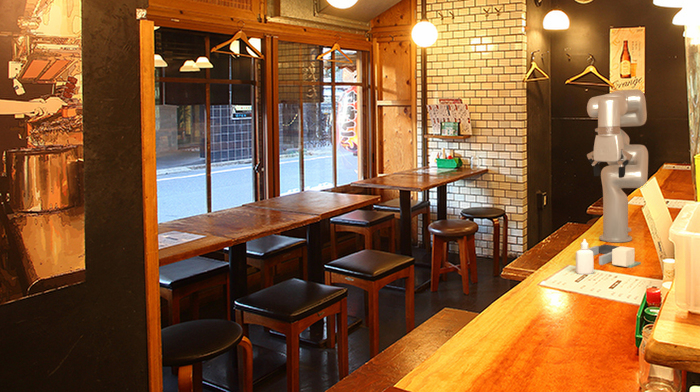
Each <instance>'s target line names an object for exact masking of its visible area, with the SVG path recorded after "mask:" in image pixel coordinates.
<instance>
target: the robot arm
mask: <svg viewBox="0 0 700 392" xmlns="http://www.w3.org/2000/svg"><path fill="white" fill-rule="evenodd" d="M586 111H587V114H588V116H589V117H590V118H594V119H595V118H597V128H594V131H595V132H596V133H597V134H595V139H594V145H593V150H592V151H591V152H589V153H587V154H586V157H587V159H588V162H589V163H590V164H591V166H592V169H593V171H592V172H593V177H599V176H600V179H601V185H602V203H603V204H602V206H603V207H602V208H603V209H602V212H603V213H602V214H603V215H602V216H603V217H602V218H603V223H602V224H603V226H602V227H603V230H602V232H603V233H602V234H600V235H599V240H600V241H602V242H607V243H608V242H609V243H628V242H631V241H632V239H633V237H632V236H631V235H629V233H630V232H632V228H631V227H629V198H628V195H627V194H626V193H625V192H624V190H623V189H639V188H640V187H641V186H643V185H644V184H645V183H646V182H648V175H649V173H648V172H649V151H648V149H647V147H646V146H645V145H644V144H630V141H631V139H630V137H629V135H628V134H627V133H626V132H625V131H624V130H623V129H621V128H622V127H641V126H644V125H645V124H646V122H647V117H648V116H647V115H648V114H647V113H648V111H647V102H646V96H645V94H644V92H643V91H642V90H641V89H638V88H637V89H636V88H635V89H624V90H623V89H622V90H615V91H612V92H610V93H607V94H602V95H597V96H593V97H591V98H590V99H588V102H587V106H586ZM600 163H607V164H608V165H606V166H604V167H603V168H602V169H601V166H600V165H601V164H600ZM646 184H647V183H646ZM640 189H641V188H640Z"/></svg>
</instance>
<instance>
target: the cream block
mask: <svg viewBox="0 0 700 392" xmlns="http://www.w3.org/2000/svg"><path fill="white" fill-rule="evenodd" d="M635 254H636V253H635V247H629V246H628V247H627V246H621V245H620V246H619V247H617V248H615V249H612V261H611V262H612V263H611V265H612V264H613V265H612V266H617V265H619V266H618V267H623V266H625V267H624V268H627V267H626V266H629V265H631V264H634V261H635Z"/></svg>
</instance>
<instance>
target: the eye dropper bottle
mask: <svg viewBox="0 0 700 392" xmlns="http://www.w3.org/2000/svg"><path fill="white" fill-rule="evenodd" d="M588 248H589V243H588V242H587V239H586V238H583V239H582V242H580V249H578V250H577V251H575V273H577V274H578V275H592V274H593V273H594V268H595V267H594V265H595V264H594V256H593V251H591V250H589V249H588Z"/></svg>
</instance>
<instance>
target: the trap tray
mask: <svg viewBox="0 0 700 392" xmlns="http://www.w3.org/2000/svg"><path fill="white" fill-rule="evenodd" d="M598 246H599V254H601V253H602V255H604V254H607V253H610V252H612V249H615V248H617V247H620V246H618V245H611V244H605V243H604V244H602V245H598Z"/></svg>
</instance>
